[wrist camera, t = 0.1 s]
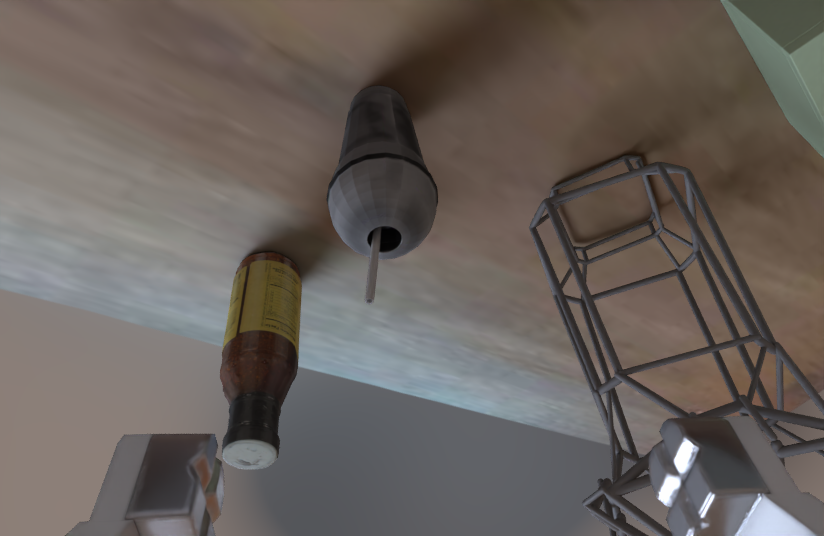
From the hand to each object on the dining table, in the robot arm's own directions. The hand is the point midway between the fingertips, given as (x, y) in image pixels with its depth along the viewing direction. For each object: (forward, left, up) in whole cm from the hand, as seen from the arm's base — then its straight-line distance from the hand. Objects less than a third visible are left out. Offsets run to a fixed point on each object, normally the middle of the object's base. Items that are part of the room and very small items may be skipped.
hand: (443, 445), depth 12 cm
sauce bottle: (+32, -10, -39) cm, 51 cm away
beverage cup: (+15, 0, -39) cm, 42 cm away
